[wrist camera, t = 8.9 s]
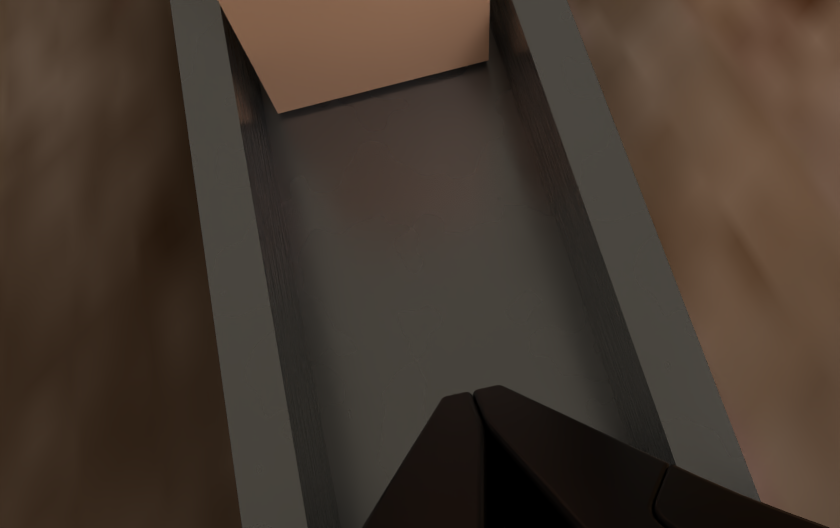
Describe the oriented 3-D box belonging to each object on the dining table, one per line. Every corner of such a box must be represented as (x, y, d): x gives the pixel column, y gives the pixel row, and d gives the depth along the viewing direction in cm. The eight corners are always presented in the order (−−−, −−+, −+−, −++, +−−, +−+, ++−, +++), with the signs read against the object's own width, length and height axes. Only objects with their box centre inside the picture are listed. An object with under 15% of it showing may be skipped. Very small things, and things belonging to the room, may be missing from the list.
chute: (693, 501, 16) (762, 505, 12) (310, 598, 16) (256, 633, 12) (472, -121, 22) (471, -247, 18) (203, -53, 22) (147, -165, 18)
